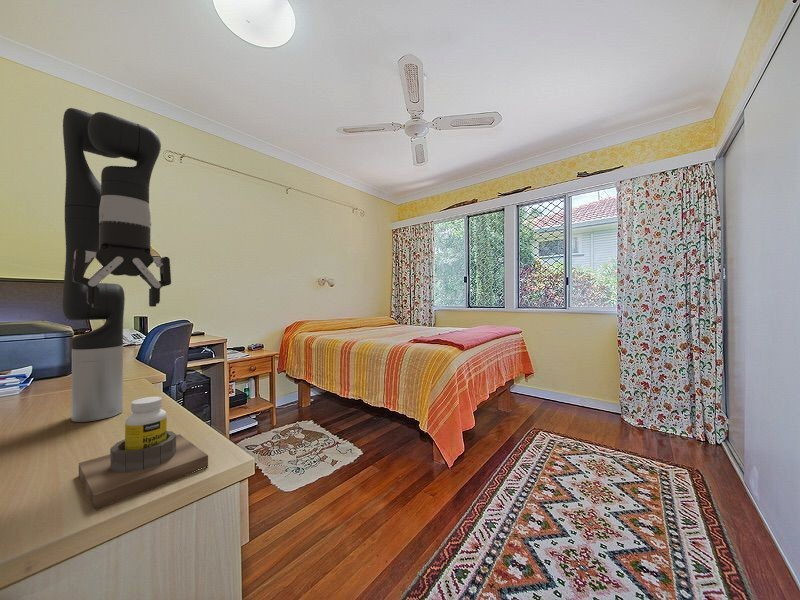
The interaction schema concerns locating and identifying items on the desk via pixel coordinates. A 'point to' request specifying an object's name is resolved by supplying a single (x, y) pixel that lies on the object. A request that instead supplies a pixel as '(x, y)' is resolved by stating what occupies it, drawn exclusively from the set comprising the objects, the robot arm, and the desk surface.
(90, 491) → the cup bracket
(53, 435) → the desk surface
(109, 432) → the desk surface
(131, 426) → the supplement bottle
